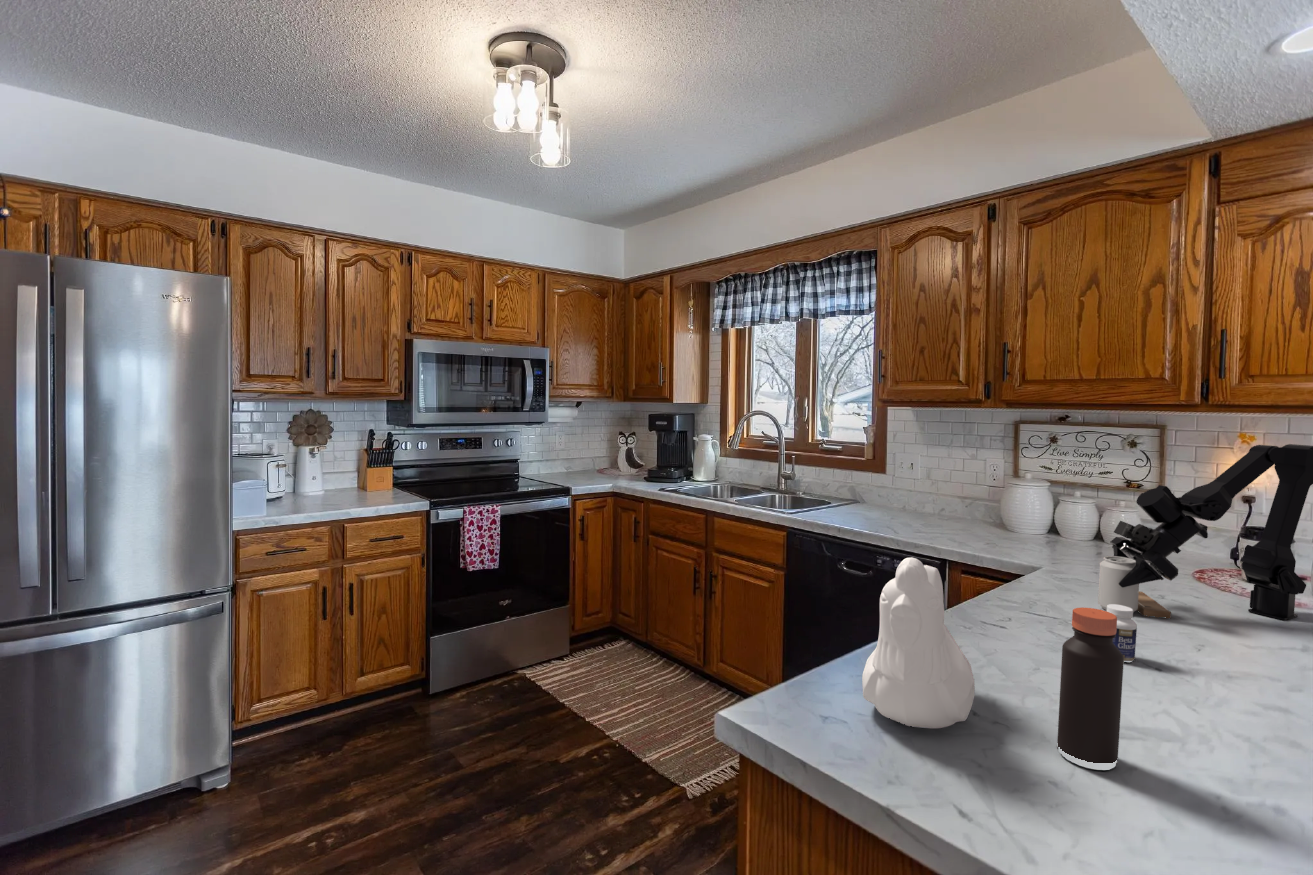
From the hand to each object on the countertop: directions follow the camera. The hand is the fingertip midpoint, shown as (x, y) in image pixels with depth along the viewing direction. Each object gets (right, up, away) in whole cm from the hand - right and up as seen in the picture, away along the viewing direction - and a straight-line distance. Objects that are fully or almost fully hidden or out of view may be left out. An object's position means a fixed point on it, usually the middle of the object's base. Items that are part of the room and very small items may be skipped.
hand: (1111, 580), depth 147 cm
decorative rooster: (-64, -9, -48) cm, 80 cm away
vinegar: (-47, -10, -61) cm, 78 cm away
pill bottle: (-19, -9, -27) cm, 34 cm away
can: (+1, -7, 0) cm, 7 cm away
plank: (+9, -7, +3) cm, 12 cm away
